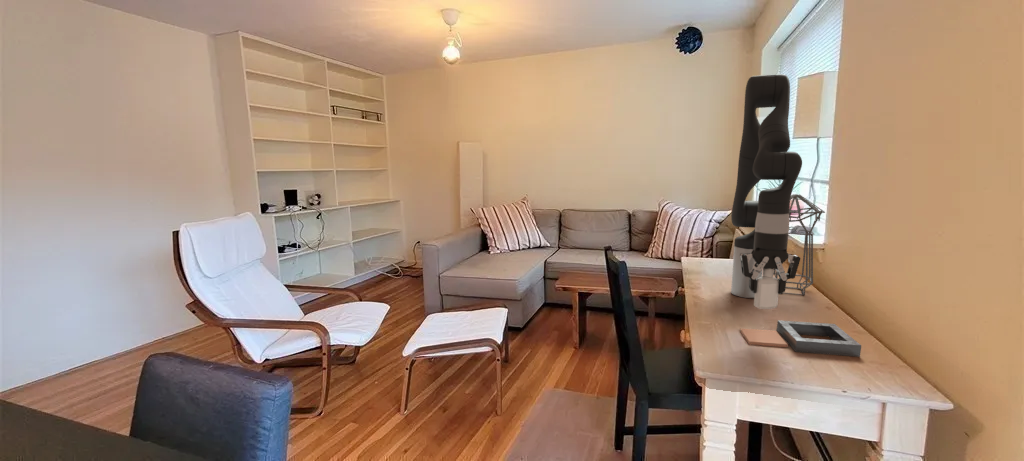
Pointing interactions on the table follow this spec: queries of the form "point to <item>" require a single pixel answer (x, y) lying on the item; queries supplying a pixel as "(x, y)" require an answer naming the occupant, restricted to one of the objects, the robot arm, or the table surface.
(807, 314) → the table surface
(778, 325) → the socket plate
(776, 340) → the terracotta tile
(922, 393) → the table surface
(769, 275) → the eye dropper bottle
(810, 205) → the geometric lantern
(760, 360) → the table surface
